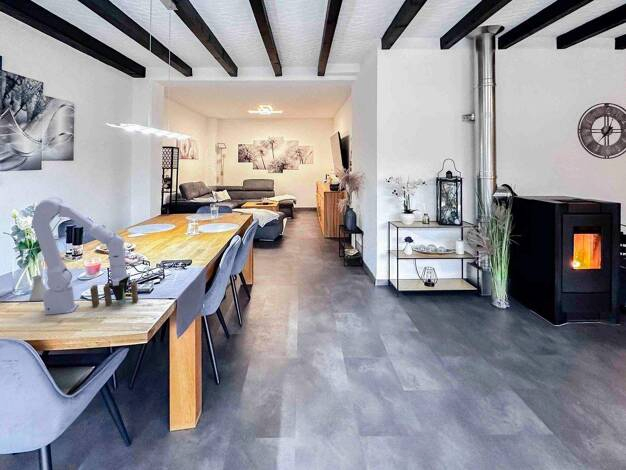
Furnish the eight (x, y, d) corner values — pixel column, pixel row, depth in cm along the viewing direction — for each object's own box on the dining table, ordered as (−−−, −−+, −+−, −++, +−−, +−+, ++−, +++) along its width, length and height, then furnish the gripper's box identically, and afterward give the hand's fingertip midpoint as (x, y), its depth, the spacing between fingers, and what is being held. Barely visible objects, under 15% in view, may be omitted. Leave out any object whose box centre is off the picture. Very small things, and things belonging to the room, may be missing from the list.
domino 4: (132, 303, 153) (130, 285, 151) (134, 299, 157) (132, 281, 155) (136, 303, 153) (134, 284, 152) (138, 299, 157) (136, 281, 156)
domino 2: (105, 306, 150) (103, 287, 148) (108, 302, 154) (105, 284, 152) (109, 305, 150) (107, 287, 149) (112, 302, 154) (109, 283, 153)
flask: (39, 302, 154) (36, 279, 152) (25, 301, 156) (21, 278, 154) (55, 296, 161) (51, 274, 159) (41, 295, 163) (37, 273, 161)
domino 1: (92, 307, 149) (90, 288, 147) (95, 303, 153) (93, 285, 151) (96, 307, 149) (94, 288, 148) (99, 303, 153) (97, 285, 151)
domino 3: (119, 304, 151) (117, 286, 150) (121, 301, 155) (119, 283, 154) (123, 304, 152) (121, 286, 150) (125, 300, 156) (123, 282, 154)
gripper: (125, 269, 145) (128, 301, 147) (131, 259, 158) (134, 289, 161) (105, 270, 143) (109, 303, 145) (113, 261, 156) (116, 291, 159)
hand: (121, 296), depth 153 cm, fingers open, 7 cm apart
